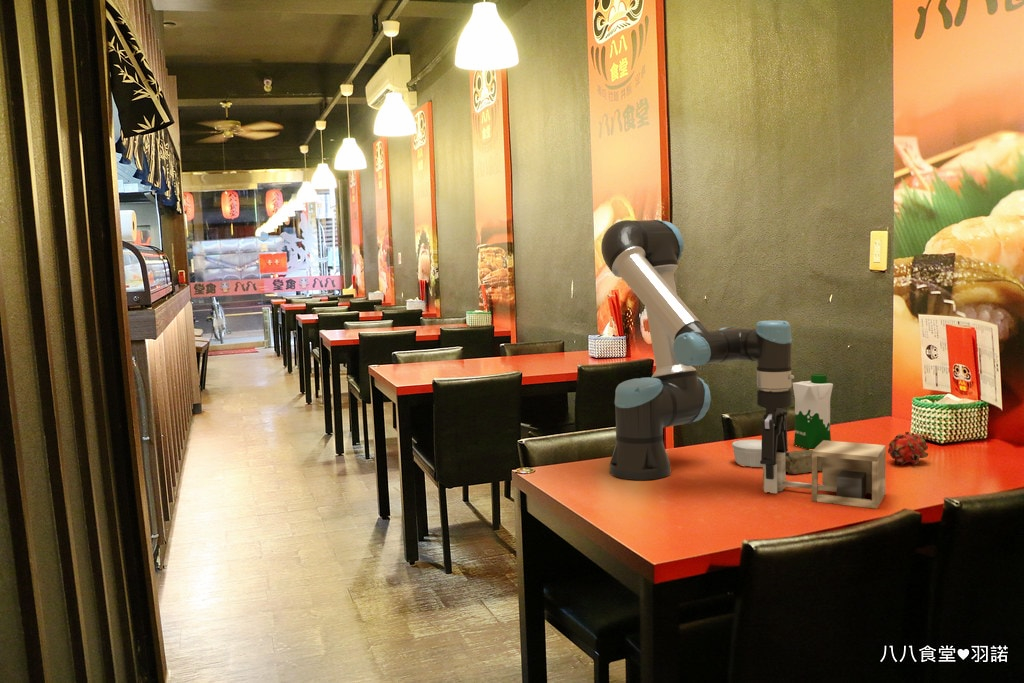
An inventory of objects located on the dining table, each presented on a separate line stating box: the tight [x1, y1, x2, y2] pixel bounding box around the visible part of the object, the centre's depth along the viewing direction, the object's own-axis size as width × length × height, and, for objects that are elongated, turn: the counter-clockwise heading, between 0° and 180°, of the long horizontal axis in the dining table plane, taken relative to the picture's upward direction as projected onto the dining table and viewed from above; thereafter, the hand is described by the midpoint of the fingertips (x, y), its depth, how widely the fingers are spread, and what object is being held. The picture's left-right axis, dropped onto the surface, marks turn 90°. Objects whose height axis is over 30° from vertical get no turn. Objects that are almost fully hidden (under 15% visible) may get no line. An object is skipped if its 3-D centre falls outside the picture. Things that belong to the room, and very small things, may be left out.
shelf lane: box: [811, 440, 887, 510], centre depth 177 cm, size 13×12×11 cm
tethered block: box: [762, 452, 867, 499], centre depth 181 cm, size 21×6×8 cm, turn 58°
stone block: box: [785, 449, 823, 475], centre depth 201 cm, size 6×12×5 cm, turn 107°
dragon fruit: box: [887, 431, 929, 466], centre depth 205 cm, size 8×8×12 cm
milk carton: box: [791, 373, 834, 450], centre depth 226 cm, size 9×9×20 cm
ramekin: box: [731, 439, 763, 468], centre depth 210 cm, size 11×11×5 cm
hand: (775, 488), depth 186 cm, fingers open, 7 cm apart
